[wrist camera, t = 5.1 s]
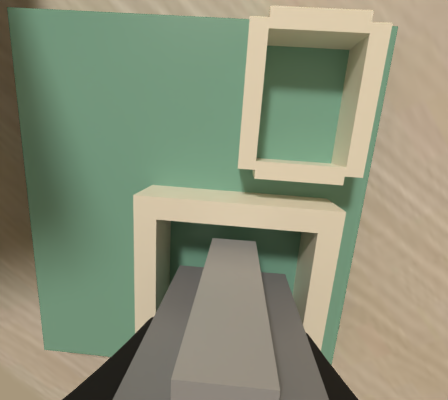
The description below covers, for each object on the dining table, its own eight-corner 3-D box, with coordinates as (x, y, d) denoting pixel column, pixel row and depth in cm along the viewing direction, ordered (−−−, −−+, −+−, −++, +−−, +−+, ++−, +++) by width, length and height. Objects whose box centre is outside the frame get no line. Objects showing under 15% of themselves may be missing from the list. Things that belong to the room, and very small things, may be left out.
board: (60, 332, 14) (10, 386, 11) (32, 21, 11) (-52, -27, 8) (320, 359, 14) (344, 425, 11) (380, 39, 10) (441, -4, 7)
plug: (177, 354, 11) (97, 623, 5) (180, 235, 10) (81, 386, 4) (274, 364, 11) (320, 657, 5) (288, 244, 10) (373, 417, 3)
